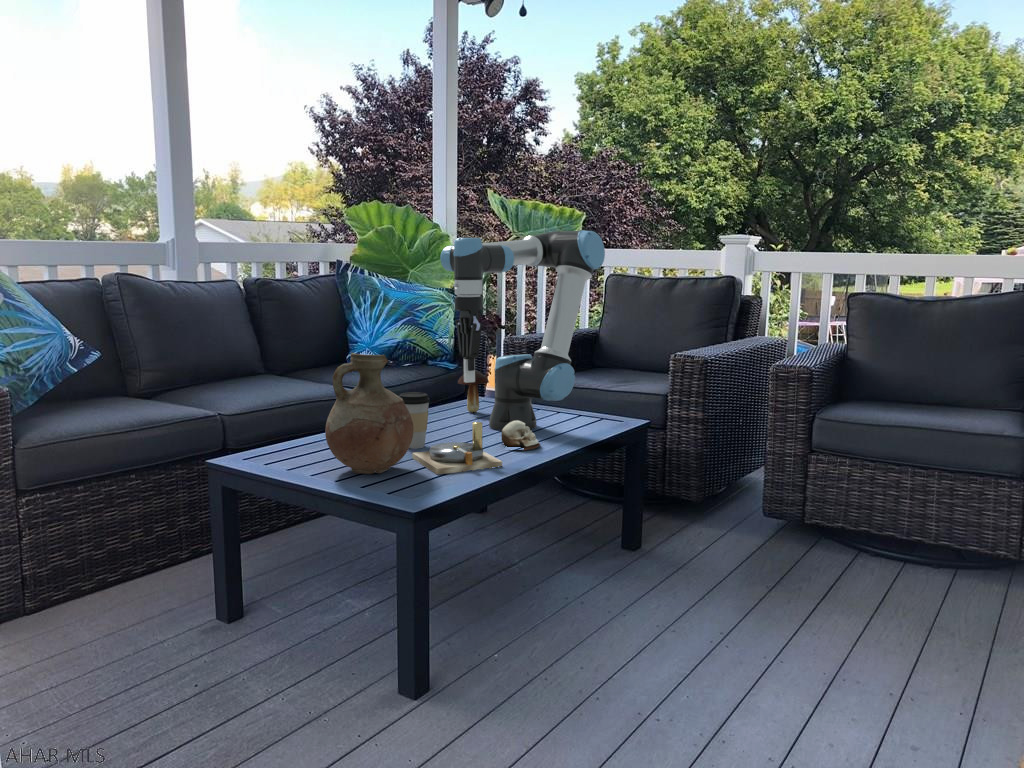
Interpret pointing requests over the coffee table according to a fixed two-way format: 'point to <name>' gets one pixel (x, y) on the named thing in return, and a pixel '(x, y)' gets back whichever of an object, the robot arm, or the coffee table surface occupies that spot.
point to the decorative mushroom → (473, 391)
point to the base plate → (450, 467)
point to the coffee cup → (417, 416)
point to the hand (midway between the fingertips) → (469, 381)
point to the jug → (367, 419)
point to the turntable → (460, 448)
